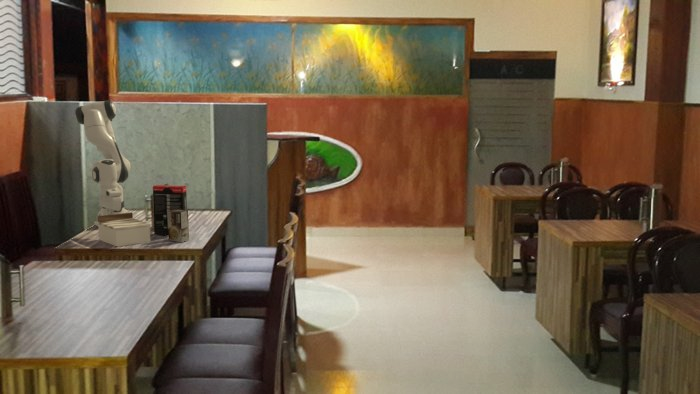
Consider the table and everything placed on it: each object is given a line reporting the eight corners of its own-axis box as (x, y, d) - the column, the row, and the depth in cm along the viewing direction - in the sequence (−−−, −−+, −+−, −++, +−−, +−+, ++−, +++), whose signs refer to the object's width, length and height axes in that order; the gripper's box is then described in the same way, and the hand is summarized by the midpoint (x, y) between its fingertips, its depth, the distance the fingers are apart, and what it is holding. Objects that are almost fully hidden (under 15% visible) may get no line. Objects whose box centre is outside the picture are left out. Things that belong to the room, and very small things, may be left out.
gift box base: (99, 241, 385) (98, 224, 383) (131, 236, 397) (131, 220, 395) (116, 248, 368) (116, 230, 367) (150, 243, 380) (149, 226, 379)
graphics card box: (188, 234, 403) (187, 184, 399) (184, 236, 397) (182, 186, 392) (158, 233, 405) (156, 184, 401) (153, 236, 398) (151, 186, 394)
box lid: (97, 223, 383) (97, 216, 383) (131, 219, 395) (130, 212, 395) (115, 230, 367) (115, 222, 366) (150, 225, 379) (150, 218, 378)
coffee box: (189, 240, 387) (188, 210, 385) (181, 242, 381) (181, 212, 379) (175, 238, 391) (174, 208, 389) (167, 241, 385) (166, 210, 383)
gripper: (95, 189, 397) (96, 214, 399) (111, 193, 381) (112, 220, 383) (106, 188, 401) (108, 213, 403) (122, 192, 385) (124, 218, 387)
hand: (110, 216), depth 393 cm, fingers closed
